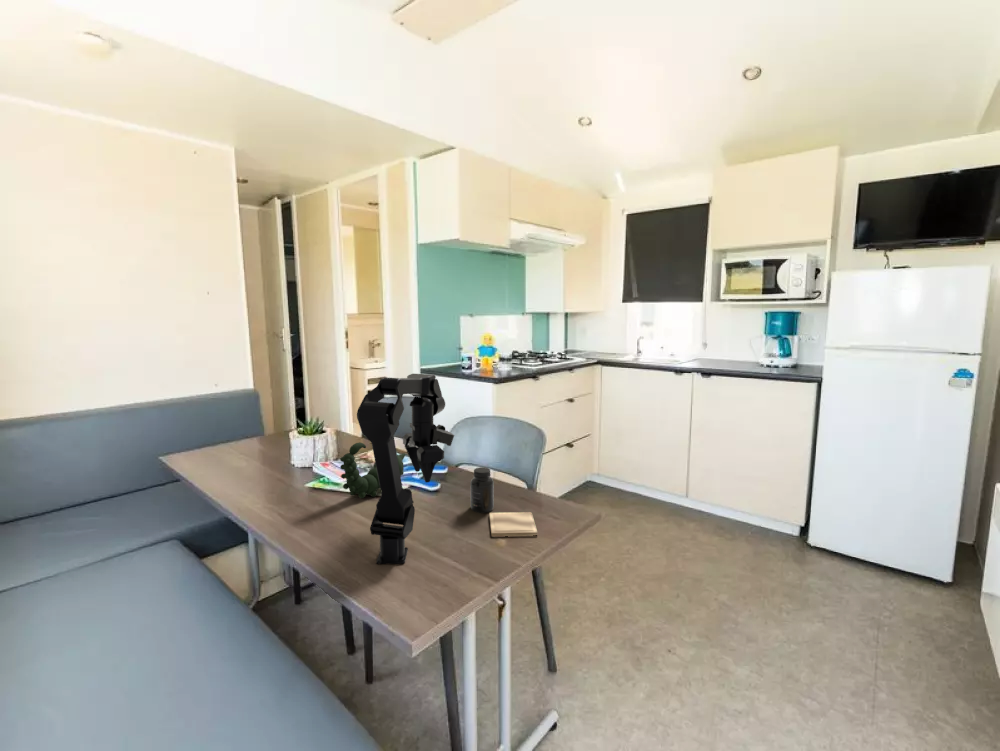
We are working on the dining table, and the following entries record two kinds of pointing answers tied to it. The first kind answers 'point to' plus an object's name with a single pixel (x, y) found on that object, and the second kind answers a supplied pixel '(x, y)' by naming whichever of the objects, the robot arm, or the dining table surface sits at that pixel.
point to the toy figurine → (367, 482)
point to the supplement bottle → (482, 491)
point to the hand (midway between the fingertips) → (422, 476)
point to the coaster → (512, 524)
